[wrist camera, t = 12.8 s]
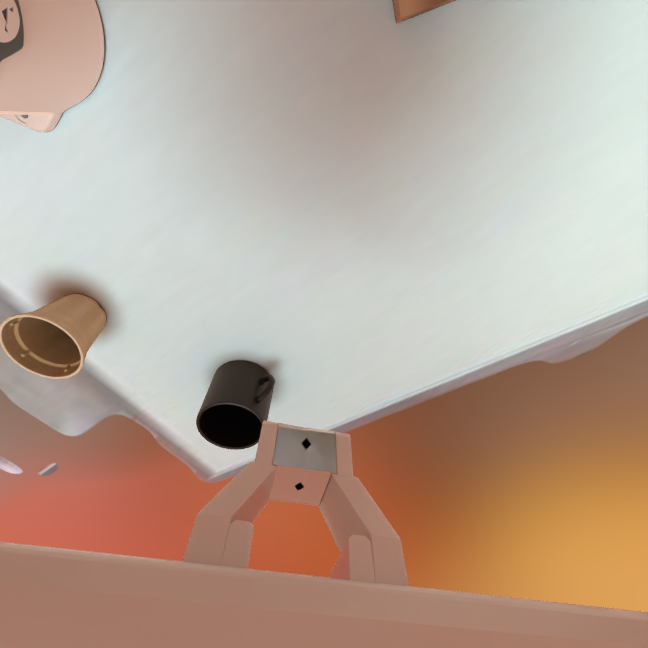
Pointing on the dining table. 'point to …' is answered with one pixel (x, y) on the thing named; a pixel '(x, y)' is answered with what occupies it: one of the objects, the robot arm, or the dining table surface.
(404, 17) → the wooden cutting board
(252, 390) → the mug
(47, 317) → the flower pot
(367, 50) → the dining table surface
